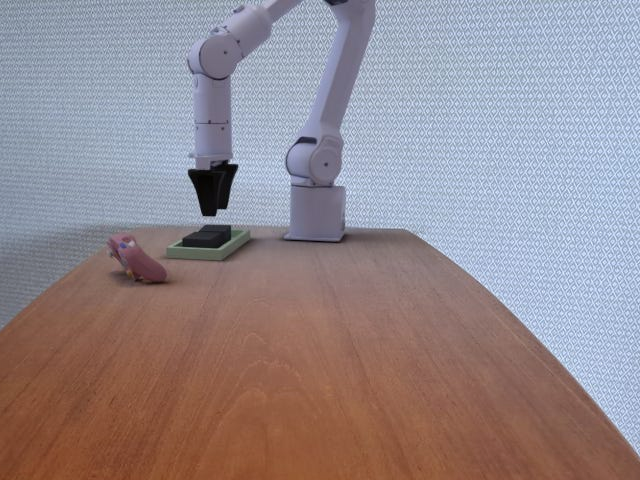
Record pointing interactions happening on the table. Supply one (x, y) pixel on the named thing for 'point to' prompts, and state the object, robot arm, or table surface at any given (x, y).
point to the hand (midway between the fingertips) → (215, 212)
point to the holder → (208, 253)
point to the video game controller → (134, 258)
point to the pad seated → (202, 240)
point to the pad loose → (219, 231)
